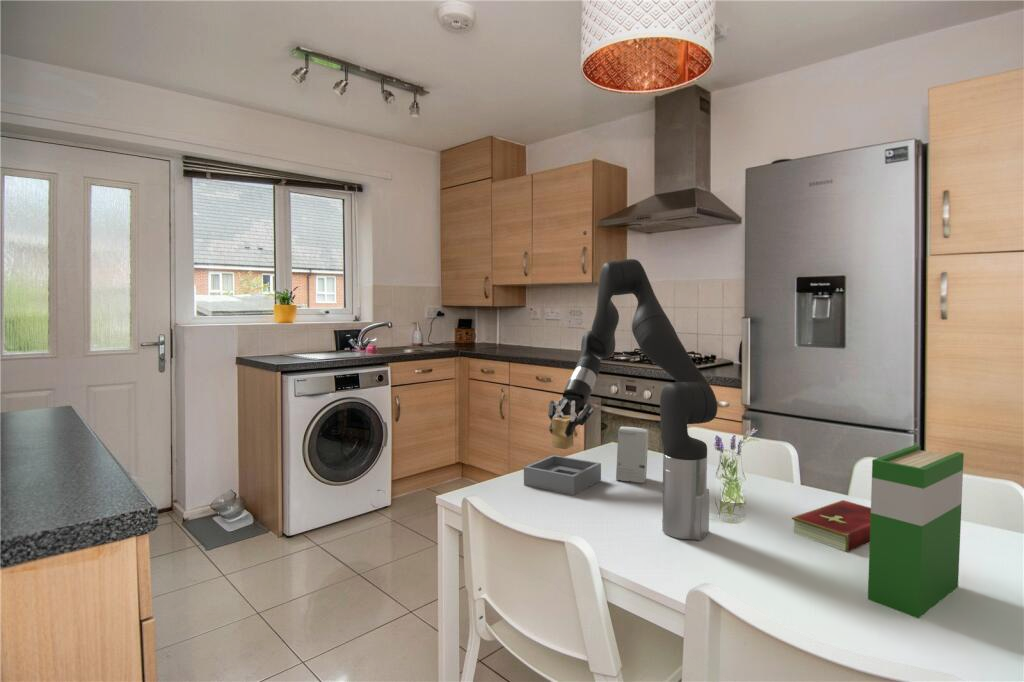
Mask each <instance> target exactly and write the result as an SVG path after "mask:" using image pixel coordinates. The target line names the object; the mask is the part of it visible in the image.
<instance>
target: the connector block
mask: <svg viewBox="0 0 1024 682" xmlns="http://www.w3.org/2000/svg"><path fill="white" fill-rule="evenodd" d="M551 422H552V434H551V443H552V444H551V447H552V448H555V449H560V450H561V449H562V450H568V449H570V448H572V447H574V433H573V434H572V435H570V437H567V436H566V434H565V431H566V429H567V426H568V424H569V422H571V417H567V416H566V417H558V418H554V419H552V421H551Z"/></svg>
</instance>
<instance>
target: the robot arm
mask: <svg viewBox="0 0 1024 682" xmlns="http://www.w3.org/2000/svg"><path fill="white" fill-rule="evenodd" d="M598 278H599V279H598V286H597V287H598V288H597V301H596V311H595V315H594V318H593V321H592V325H591V330H587V331H586V332H585V333H584V334H583V336H582V338H581V345H580V353H579V354H580V355H579V359H578V361H577V363H576V365H575V368H574V370H573V372H572V373H571V375H570V377H569V379H568V381H567V382H566V383H567V384H566V386H565V388H564V390H563V393H562V397H561V398H560V399H559V400H558V401H554V400H553V399H552V400H550V401H549V404H548V405H549V406H548V412H547V414H548V415H547V416H548V418H549V419H550V422H551V423H550V424H549V427H548V430H549V432H550V433H551V435H552V419H554V418H558V417H566V418H567V416H570V418H571V422H569V424H568V426H567V429H566V431H565V434H566V436H567V437H570V435H572V434H573V435H574V432H575V428H576V427H577V426H579V425H580V426H584V425H585V423H586V422H587V421H588V419H589V418H590V417H591V416H592V414H593V413H594V409H593V406H592V405H591V404H589V403H588V402H589V400H590V396H591V395H592V392H593V390H594V388H595V385H596V380H597V378H598V375H599V373H600V370H601V368H602V362H601V360H600V359H602V360H603V359H604V360H606V359H609V358H610V357H612V356H613V355H614V353H615V350H616V337H615V336H616V335H615V334H616V330H617V328H618V324H619V322H620V314H619V311H618V309H617V307H616V305H615V304H614V302H613V300H612V297H613V296H623V295H630V294H633V296H635V298H636V299H637V306H636V309H635V313H634V315H633V318H632V324H631V331H632V335H633V336H634V339H635V340H636V341H635V342H637V345H638V347H639V349H640V350H641V352H642V353H643V354H644V356H646V357H647V358H648V359H649V361H651V362H652V363H654V364H655V365H657V367H659V368H660V369H662V370H664V371H665V372H666V373H668V375H670V376H671V377H672V378H673V380H674V381H675V382H670V383H666V384H665V385H664V386H663V388H662V389H661V392H660V397H659V412H660V413H659V414H660V415H659V417H660V438H661V442H662V449H663V450H662V451H663V452H662V453H663V454H662V520H661V521H662V522H661V523H662V525H661V526H662V532H663V533H664V534H666V535H667V536H670V537H672V538H676V539H682V540H697V541H702V540H703V538H704V537H706V535H707V534H708V533H709V532H710V489H709V488H707V487H708V486H707V483H708V482H707V480H708V477H707V475H708V474H707V473H708V445H707V444H706V442H704V441H703V440H701V439H698V438H694V437H692V436H690V435H689V431H688V425H697V424H698V425H699V424H705V423H710V422H711V421H713V420H714V419H715V418H716V417H717V414H718V400H717V398H716V395H715V393H714V390H713V388H712V386H711V385H710V383H709V382H708V380H707V378H705V376H704V375H703V373H702V372H701V371H700V369H699V368H698V367H697V365H696V364H695V362H694V361H693V359H692V358H691V356H690V354H688V351H687V349H686V348H685V346H684V345H683V343H682V341H681V339H680V338H679V335H678V334H677V332H676V330H675V328H674V326H673V324H672V323H671V321H670V318H668V316H667V314H666V313H665V311H664V309H663V307H662V305H661V304H660V302H659V300H658V298H657V296H656V293H655V292H654V289H653V287H652V285H651V282H650V280H649V277H648V275H647V272H646V271H645V268H644V267H643V264H642V263H641V262H640V261H639V260H638V259H635V258H633V259H632V258H627V259H621V260H620V259H618V260H611V261H610V260H609V261H607V262H605V263H604V264H603V265H602V267H601V269H600V273H599V277H598ZM599 358H600V359H599Z"/></svg>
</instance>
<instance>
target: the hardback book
mask: <svg viewBox="0 0 1024 682" xmlns="http://www.w3.org/2000/svg"><path fill="white" fill-rule="evenodd" d="M964 455H965V453H964V452H958V451H957V452H954V453H952V454H945V453H938V452H933V451H927V450H921V445H917V444H914V445H911V446H908V447H904V448H902V449H900V450H899V449H898V450H897V451H894V452H891V453H887V454H885V455H882V456H880V457H877V458H873V459H872V465H871V466H872V467H871V468H872V469H871V491H870V492H871V493H870V495H871V496H870V497H871V498H870V508H871V519H870V542H869V550H868V551H869V552H868V553H869V554H868V555H869V556H868V584H867V585H868V586H867V600H868V601H871V602H872V603H873V602H874V603H877V604H879V605H882V606H885V607H887V608H890V609H892V610H895V611H898V612H899V613H900V612H901V613H903V614H906V615H907V616H908V615H909V616H910V617H912V618H915V619H920V618H922V617H923V616H924V615H925V614H926V613H928V612H929V611H930V610H932V608H934V607H935V606H936V605H938V604H939V603H940V602H941V601H942V600H944V599H945V598H946V597H947V596H949V594H951V593H953V591H954V590H956V589H958V587H959V575H960V573H959V572H960V571H959V570H960V550H961V549H960V548H961V547H960V546H961V530H962V529H961V526H962V525H961V524H962V523H961V522H962V502H963V500H962V499H963V478H964V477H963V476H964V475H963V474H964Z"/></svg>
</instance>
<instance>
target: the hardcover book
mask: <svg viewBox="0 0 1024 682" xmlns="http://www.w3.org/2000/svg"><path fill="white" fill-rule="evenodd" d="M870 519H871V506H870V507H869V506H866V505H863V504H859V503H856V502H852V501H848V500H844V499H841V500H839V501H836V502H833V503H830V504H827V505H824V506H821V507H819V508H815V509H813V510H809V511H806V512H803V513H800V514H797V515H794V516H791V520H793V521H794V524H793V534H795V533H796V535H798V534H799V535H798V536H801V537H804V538H806V537H807V539H810V540H812V539H813V541H815V542H818V541H819V542H818V543H822V544H825V545H827V546H829V545H830V547H833V548H836V549H839V550H841V551H844V552H845V553H849V552H850V551H853V550H855V549H857V548H860V547H861V546H864V544H865V545H867V544H870ZM866 543H867V544H866Z"/></svg>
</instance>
